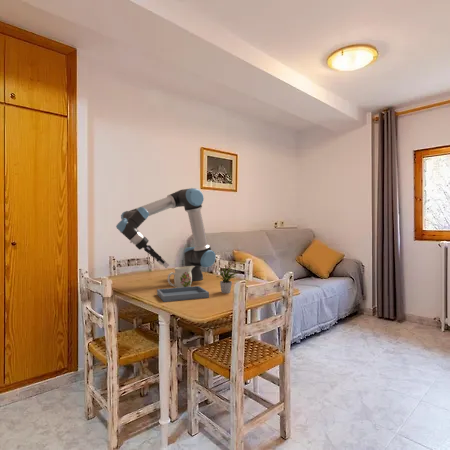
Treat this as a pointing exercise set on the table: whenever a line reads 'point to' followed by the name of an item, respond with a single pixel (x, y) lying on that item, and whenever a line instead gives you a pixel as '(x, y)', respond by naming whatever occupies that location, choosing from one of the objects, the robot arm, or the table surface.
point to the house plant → (226, 280)
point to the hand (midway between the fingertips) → (165, 265)
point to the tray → (182, 293)
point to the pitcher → (181, 276)
